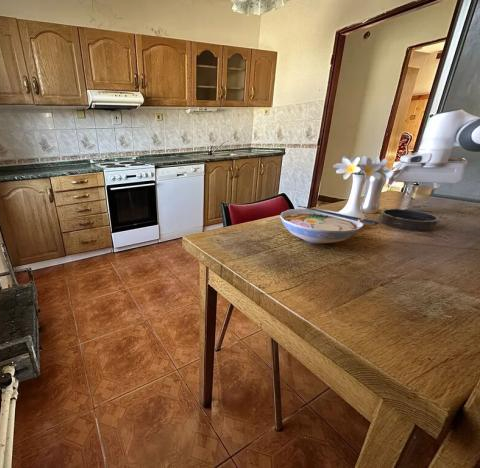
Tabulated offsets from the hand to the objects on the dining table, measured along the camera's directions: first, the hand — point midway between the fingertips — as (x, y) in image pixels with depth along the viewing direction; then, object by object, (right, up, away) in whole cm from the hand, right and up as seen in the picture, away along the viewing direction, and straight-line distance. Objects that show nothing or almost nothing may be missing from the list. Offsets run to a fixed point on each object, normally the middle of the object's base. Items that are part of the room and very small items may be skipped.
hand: (419, 193), depth 101 cm
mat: (0, -8, +3) cm, 9 cm away
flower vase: (-34, -14, -9) cm, 38 cm away
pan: (-13, -13, -8) cm, 20 cm away
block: (0, -1, +1) cm, 2 cm away
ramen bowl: (-52, -18, -18) cm, 58 cm away
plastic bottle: (-15, -7, +7) cm, 18 cm away
